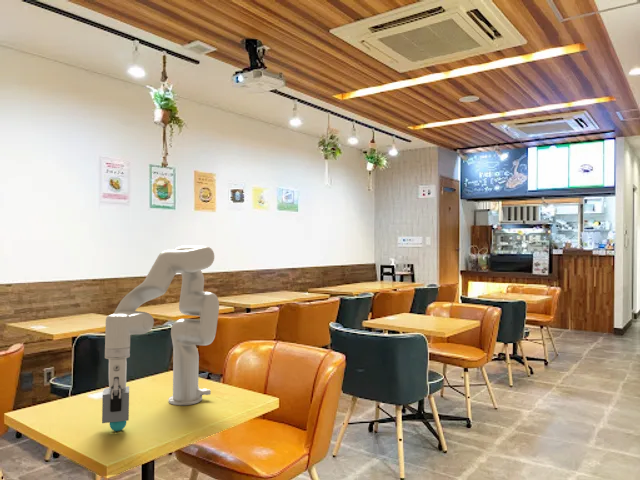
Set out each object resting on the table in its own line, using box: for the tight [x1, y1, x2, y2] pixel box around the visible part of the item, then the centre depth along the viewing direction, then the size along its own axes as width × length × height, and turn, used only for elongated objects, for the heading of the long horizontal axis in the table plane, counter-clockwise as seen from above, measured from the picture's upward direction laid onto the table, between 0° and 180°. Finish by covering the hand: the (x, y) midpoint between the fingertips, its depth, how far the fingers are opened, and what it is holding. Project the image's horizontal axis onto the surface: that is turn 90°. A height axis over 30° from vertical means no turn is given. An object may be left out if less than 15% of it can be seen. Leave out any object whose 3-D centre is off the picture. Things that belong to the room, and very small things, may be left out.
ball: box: [109, 421, 127, 432], centre depth 158 cm, size 5×5×5 cm
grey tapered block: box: [101, 385, 130, 424], centre depth 159 cm, size 8×8×9 cm
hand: (116, 407), depth 159 cm, fingers closed on grey tapered block, 7 cm apart
